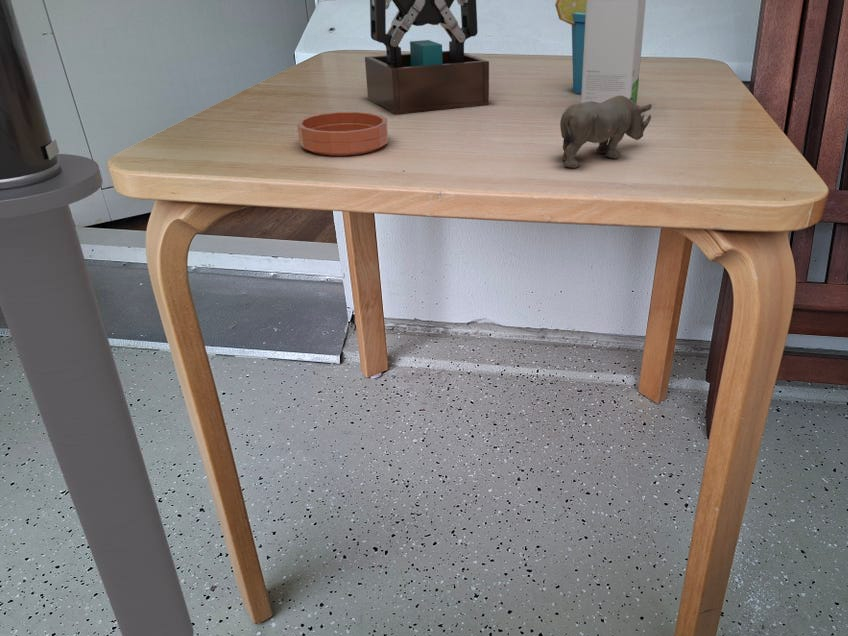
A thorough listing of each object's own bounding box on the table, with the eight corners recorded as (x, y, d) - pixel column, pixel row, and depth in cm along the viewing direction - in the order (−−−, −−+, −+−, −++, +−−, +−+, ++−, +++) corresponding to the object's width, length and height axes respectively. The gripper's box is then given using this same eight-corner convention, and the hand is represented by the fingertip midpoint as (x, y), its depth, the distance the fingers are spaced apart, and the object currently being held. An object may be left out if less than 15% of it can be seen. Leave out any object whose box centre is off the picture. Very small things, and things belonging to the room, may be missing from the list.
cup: (617, 82, 114) (627, -28, 106) (650, 90, 108) (663, -25, 101) (541, 90, 108) (546, -25, 101) (572, 100, 103) (579, -21, 95)
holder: (394, 114, 95) (391, 69, 93) (367, 98, 104) (364, 56, 101) (488, 104, 100) (489, 61, 98) (456, 90, 109) (455, 50, 106)
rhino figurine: (663, 148, 82) (671, 91, 78) (574, 171, 74) (578, 109, 71) (635, 140, 84) (641, 85, 81) (546, 162, 77) (549, 101, 74)
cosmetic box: (628, 123, 91) (642, -19, 83) (575, 119, 93) (584, -20, 85) (637, 108, 98) (651, -24, 90) (587, 105, 100) (597, -25, 92)
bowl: (313, 161, 77) (311, 136, 76) (291, 140, 84) (288, 116, 83) (400, 150, 81) (399, 126, 79) (371, 131, 88) (370, 108, 87)
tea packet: (412, 95, 103) (409, 41, 99) (430, 93, 104) (428, 39, 100) (424, 101, 100) (422, 45, 96) (443, 99, 101) (442, 44, 97)
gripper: (461, -66, 97) (462, 65, 106) (357, -65, 92) (367, 73, 100) (486, -65, 92) (486, 74, 100) (377, -64, 86) (385, 83, 95)
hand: (426, 73), depth 100 cm, fingers open, 8 cm apart
